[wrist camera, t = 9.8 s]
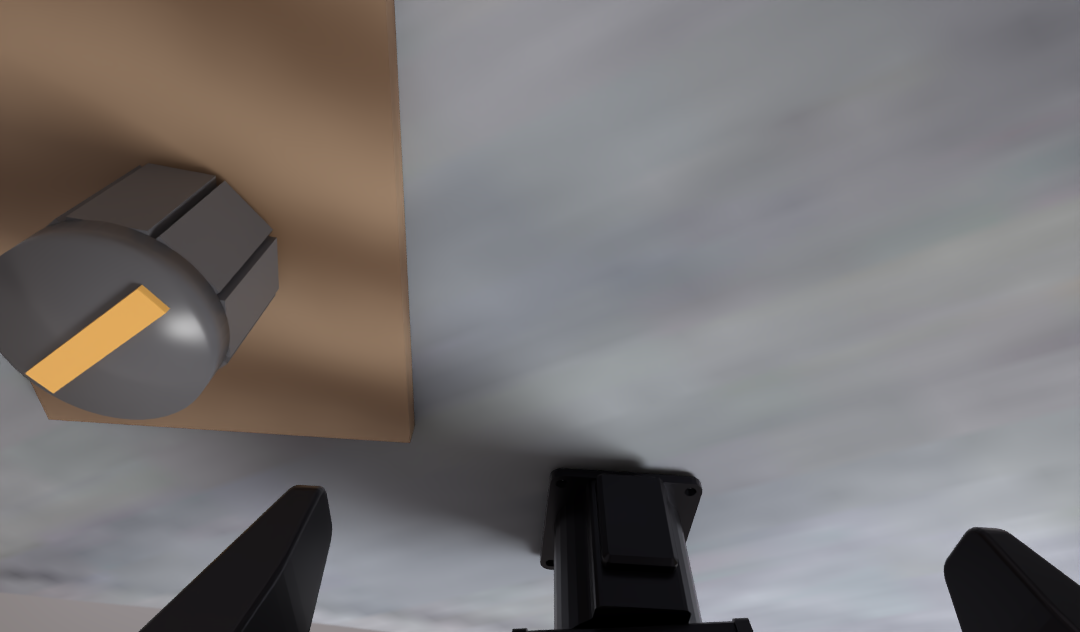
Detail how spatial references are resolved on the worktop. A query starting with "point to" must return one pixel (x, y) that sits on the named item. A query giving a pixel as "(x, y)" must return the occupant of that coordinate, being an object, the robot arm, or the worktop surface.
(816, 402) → the worktop surface
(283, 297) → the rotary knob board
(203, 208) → the grey dial knob
